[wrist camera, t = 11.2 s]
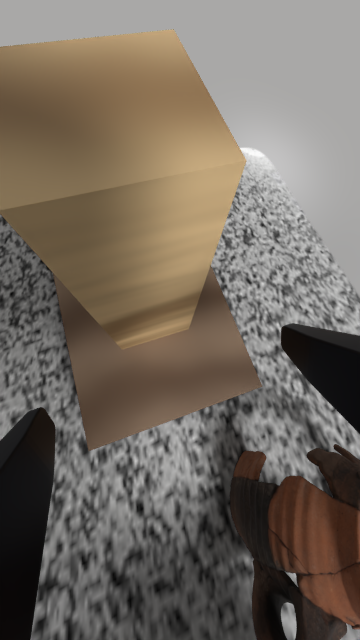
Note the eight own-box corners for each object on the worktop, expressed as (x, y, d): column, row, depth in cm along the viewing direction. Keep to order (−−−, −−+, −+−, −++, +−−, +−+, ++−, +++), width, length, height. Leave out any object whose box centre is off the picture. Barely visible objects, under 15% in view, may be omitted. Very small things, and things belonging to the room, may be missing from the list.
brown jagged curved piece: (246, 409, 20) (359, 421, 14) (304, 465, 23) (421, 498, 16) (178, 594, 14) (327, 784, 7) (269, 641, 17) (439, 811, 10)
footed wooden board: (244, 388, 20) (262, 386, 16) (104, 440, 18) (88, 451, 15) (183, 237, 25) (186, 208, 21) (65, 266, 23) (46, 240, 19)
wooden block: (188, 328, 17) (246, 160, 5) (122, 349, 17) (-3, 210, 4) (168, 271, 19) (173, 29, 6) (105, 287, 18) (-24, 49, 6)
